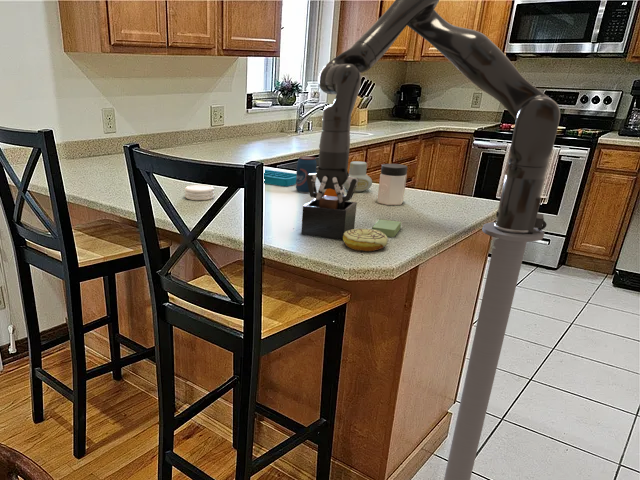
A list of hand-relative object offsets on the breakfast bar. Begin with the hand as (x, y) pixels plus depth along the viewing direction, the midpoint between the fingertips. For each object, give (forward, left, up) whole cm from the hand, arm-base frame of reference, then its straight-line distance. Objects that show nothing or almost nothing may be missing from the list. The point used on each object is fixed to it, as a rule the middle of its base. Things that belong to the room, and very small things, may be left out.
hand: (329, 214), depth 141 cm
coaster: (+52, -20, -5) cm, 56 cm away
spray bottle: (+11, -35, -5) cm, 37 cm away
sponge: (-14, -8, -5) cm, 17 cm away
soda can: (+23, -46, -5) cm, 52 cm away
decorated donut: (-12, +8, -5) cm, 15 cm away
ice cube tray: (+40, -57, -5) cm, 70 cm away
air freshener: (+7, -56, -5) cm, 57 cm away
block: (0, 0, 0) cm, 0 cm away
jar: (-8, -43, -5) cm, 44 cm away
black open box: (0, 0, -5) cm, 5 cm away
